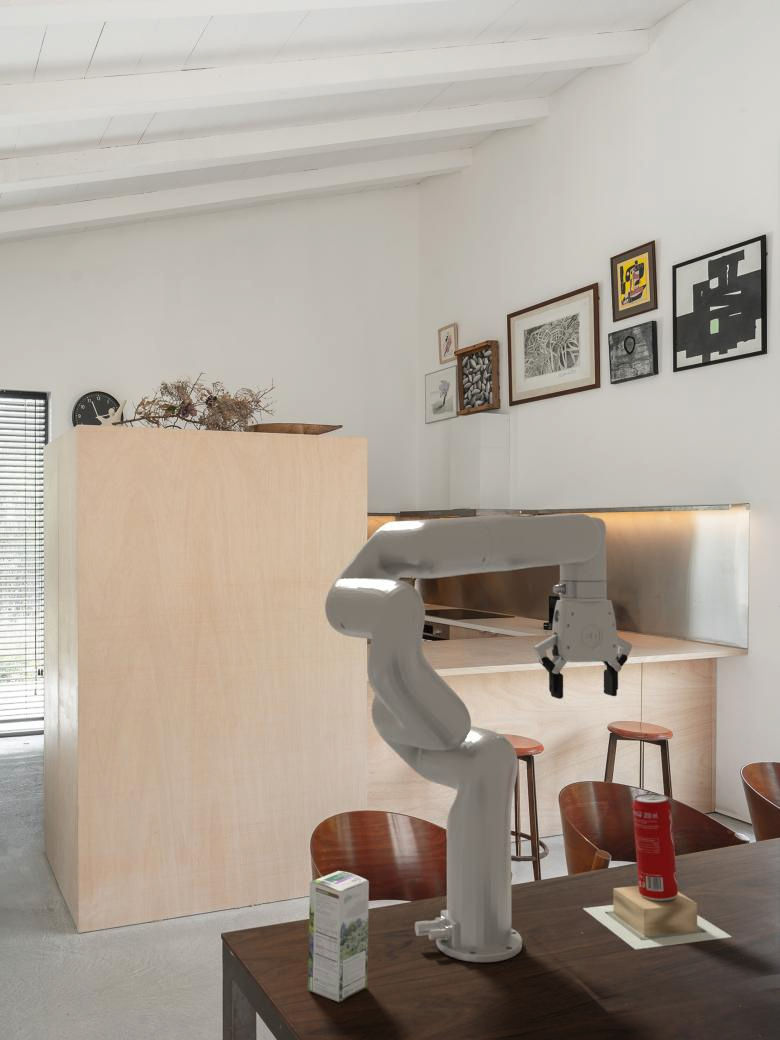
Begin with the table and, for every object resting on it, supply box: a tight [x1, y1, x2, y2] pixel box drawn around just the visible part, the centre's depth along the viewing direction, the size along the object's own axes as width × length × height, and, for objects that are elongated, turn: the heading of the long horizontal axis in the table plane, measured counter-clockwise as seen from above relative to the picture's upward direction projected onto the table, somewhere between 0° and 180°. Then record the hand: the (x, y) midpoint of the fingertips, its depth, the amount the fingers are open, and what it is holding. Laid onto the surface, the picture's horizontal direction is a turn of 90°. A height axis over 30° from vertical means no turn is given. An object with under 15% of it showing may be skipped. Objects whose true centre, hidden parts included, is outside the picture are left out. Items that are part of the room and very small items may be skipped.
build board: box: [582, 904, 732, 951], centre depth 143 cm, size 16×16×1 cm
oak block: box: [612, 885, 698, 937], centre depth 144 cm, size 9×9×4 cm
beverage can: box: [632, 793, 679, 901], centre depth 144 cm, size 6×6×15 cm
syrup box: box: [307, 870, 370, 1003], centre depth 124 cm, size 6×6×14 cm
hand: (583, 696), depth 154 cm, fingers open, 9 cm apart
